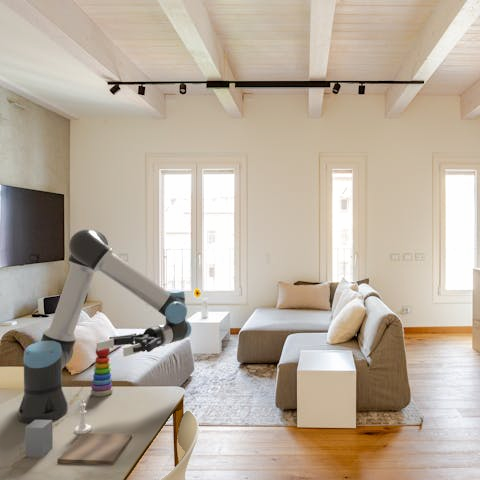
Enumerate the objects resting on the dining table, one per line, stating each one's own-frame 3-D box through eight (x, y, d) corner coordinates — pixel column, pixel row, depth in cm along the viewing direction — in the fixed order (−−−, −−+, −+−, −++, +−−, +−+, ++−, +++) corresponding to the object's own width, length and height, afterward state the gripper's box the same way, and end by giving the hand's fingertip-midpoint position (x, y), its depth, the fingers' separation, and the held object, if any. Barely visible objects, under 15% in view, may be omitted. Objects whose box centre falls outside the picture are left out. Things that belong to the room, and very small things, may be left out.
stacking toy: (106, 397, 157) (105, 347, 157) (86, 396, 159) (86, 346, 159) (116, 390, 165) (116, 342, 165) (97, 389, 166) (97, 341, 166)
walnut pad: (57, 462, 111) (57, 459, 111) (83, 436, 126) (83, 433, 126) (112, 464, 110) (112, 460, 110) (132, 437, 125) (132, 434, 125)
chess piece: (85, 425, 134) (85, 393, 134) (94, 429, 131) (94, 397, 131) (71, 430, 130) (71, 398, 130) (79, 435, 127) (79, 402, 127)
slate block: (25, 456, 114) (24, 427, 114) (35, 447, 119) (35, 419, 119) (42, 457, 114) (42, 427, 114) (52, 448, 119) (52, 420, 119)
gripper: (182, 350, 149) (136, 366, 131) (134, 342, 163) (87, 355, 145) (182, 329, 149) (136, 342, 131) (134, 323, 163) (86, 333, 145)
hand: (110, 349), depth 138 cm, fingers open, 13 cm apart
